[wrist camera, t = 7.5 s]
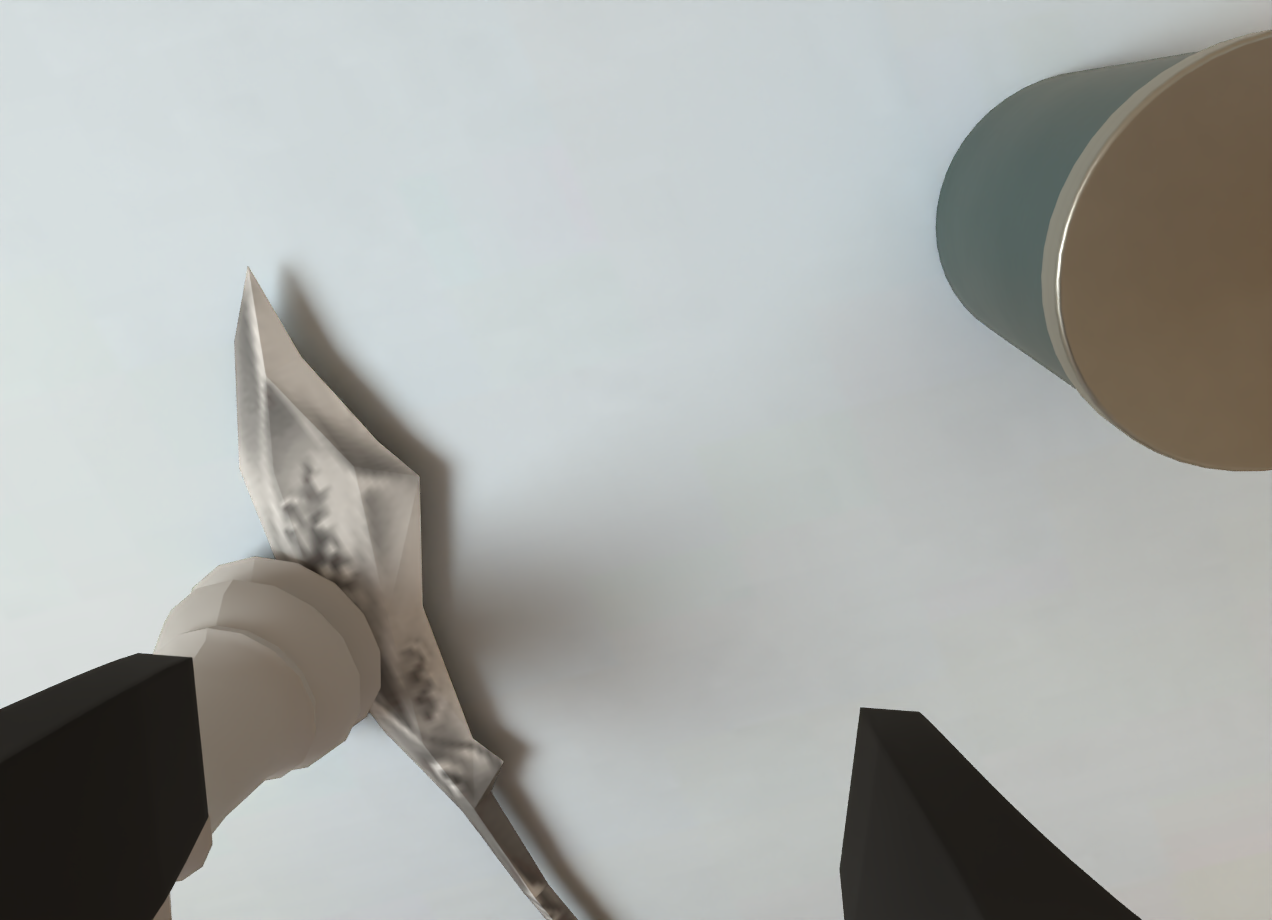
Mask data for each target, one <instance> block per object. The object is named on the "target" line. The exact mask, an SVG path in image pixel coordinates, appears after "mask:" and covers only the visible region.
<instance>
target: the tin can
mask: <svg viewBox="0 0 1272 920" xmlns="http://www.w3.org/2000/svg"><path fill="white" fill-rule="evenodd" d="M936 237H937V247H938V252H939V257H940V261H941V264H942V267H943V270H944V273H945V276H946V278H947V280H948V282H949V284H950V286H951V288H952V290H953V291H954V293H955V295H956V296H957V297H958V299H959V300H960V301H961V303H962V304H963V306H964V307H965V308H966V309H967V310H968V311H969V312H970V313H971V314H972V315H973V316H974V317H975V318H976V319H978V320H979V321H980V322H981V323H983V324H984V325H985V326H987V327H988V328H989V329H991V330H992V331H994V332H995V333H996V334H998V335H999V336H1001V337H1002V338H1004V339H1005V340H1006V341H1008V342H1009V343H1011V344H1012V345H1014V346H1015V347H1016V348H1018V349H1019V350H1021V351H1022V352H1024V353H1025V354H1026V355H1028V356H1029V357H1031V358H1032V359H1034V360H1035V361H1036V362H1038V363H1039V364H1041V365H1042V366H1044V367H1045V368H1046V369H1048V370H1049V371H1051V372H1052V373H1054V374H1055V375H1057V376H1058V377H1059V378H1061V379H1062V380H1064V381H1065V382H1067V383H1068V384H1069V385H1071V386H1072V387H1074V388H1075V389H1077V391H1078V392H1079V393H1080V395H1081V396H1082V397H1083V398H1084V399H1085V400H1086V401H1087V402H1088V403H1089V404H1090V405H1091V407H1092V408H1093V409H1094V410H1095V411H1096V412H1097V413H1098V414H1099V415H1101V416H1102V417H1103V418H1105V419H1106V420H1107V421H1109V422H1110V423H1111V424H1112V425H1114V426H1115V427H1116V428H1118V429H1119V430H1120V431H1122V432H1123V433H1125V434H1126V435H1127V436H1129V437H1130V438H1131V439H1133V440H1135V441H1136V442H1138V443H1140V444H1142V445H1144V446H1145V447H1147V448H1149V449H1151V450H1152V451H1154V452H1156V453H1159V454H1161V455H1164V456H1167V457H1169V458H1172V459H1174V460H1177V461H1179V462H1183V463H1187V464H1191V465H1195V466H1199V467H1203V468H1209V469H1218V470H1227V471H1266V470H1272V30H1267V31H1261V32H1256V33H1250V34H1247V35H1244V36H1240V37H1237V38H1234V39H1231V40H1227V41H1224V42H1221V43H1218V44H1216V45H1213V46H1211V47H1209V48H1207V49H1204V50H1202V51H1199V52H1193V53H1187V54H1181V55H1175V56H1169V57H1163V58H1157V59H1151V60H1145V61H1139V62H1133V63H1127V64H1121V65H1115V66H1109V67H1103V68H1097V69H1091V70H1085V71H1079V72H1073V73H1068V74H1062V75H1057V76H1054V77H1051V78H1048V79H1044V80H1041V81H1039V82H1037V83H1034V84H1032V85H1030V86H1028V87H1025V88H1023V89H1021V90H1020V91H1018V92H1016V93H1015V94H1013V95H1012V96H1010V97H1008V98H1007V99H1005V100H1004V101H1003V102H1001V103H1000V104H999V105H997V106H996V107H995V108H994V109H992V110H991V111H990V112H989V113H988V114H987V115H986V116H985V117H984V118H983V119H982V120H981V121H980V122H979V123H978V124H977V125H976V126H975V127H974V129H973V130H972V131H971V132H970V134H969V135H968V136H967V137H966V139H965V140H964V141H963V143H962V145H961V146H960V148H959V149H958V151H957V153H956V154H955V156H954V158H953V160H952V162H951V164H950V166H949V169H948V171H947V173H946V176H945V179H944V182H943V185H942V188H941V191H940V196H939V201H938V206H937V216H936Z"/></svg>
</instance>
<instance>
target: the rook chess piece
mask: <svg viewBox="0 0 1272 920" xmlns="http://www.w3.org/2000/svg"><path fill="white" fill-rule="evenodd" d="M153 654H156V655H169V656H182V657H192V658H193V668H194V678H195V687H196V697H197V707H198V717H199V727H200V736H201V746H202V756H203V766H204V776H205V785H206V795H207V805H208V815H209V817H208V819H207V821H206V823H205V825H204V827H203V829H202V831H201V833H200V835H199V837H198V839H197V841H196V843H195V845H194V847H193V849H192V851H191V853H190V855H189V857H188V859H187V861H186V863H185V865H184V867H183V869H182V871H181V873H180V875H179V876H178V878H177V880H176V881H182V880H184V879H185V878H187V877H188V876H190V875H191V874H192V873H194V872H195V871H197V870H198V869H200V868H201V867H202V866H203V864H204V862H205V860H206V858H207V855H208V853H209V851H210V849H211V846H212V833H213V832H214V831H215V830H216V828H217V827H218V826H219V825H220V823H221V822H222V821H223V819H224V818H225V817H226V816H227V815H228V814H229V813H230V812H231V811H232V810H234V809H235V808H236V807H237V806H238V805H239V804H240V803H241V802H242V801H243V800H244V799H245V798H246V797H247V796H249V795H250V794H251V793H252V792H253V791H254V790H255V789H256V788H257V787H258V786H259V785H260V784H261V783H262V782H264V781H265V780H270V779H276V778H281V777H283V776H284V775H285V774H287V773H288V772H290V771H291V770H295V769H301V768H306V767H308V766H310V765H311V764H313V763H314V762H316V761H317V760H319V759H320V758H321V757H323V756H324V755H326V754H327V753H329V752H330V751H331V750H333V749H334V748H336V747H337V746H338V745H340V744H341V743H343V742H344V741H345V740H346V739H347V737H348V735H349V733H350V731H351V729H352V727H353V726H354V725H356V724H357V723H358V722H360V721H361V720H363V719H364V718H365V717H366V716H367V714H368V712H369V710H370V708H371V706H372V704H373V702H374V700H375V698H376V696H377V694H378V692H379V690H380V688H381V668H380V650H379V647H378V645H377V643H376V640H375V638H374V636H373V634H372V631H371V629H370V627H369V624H368V622H367V620H366V618H365V615H364V613H363V612H362V611H361V610H360V609H359V608H358V607H357V606H356V605H355V604H354V602H353V601H352V600H351V599H350V598H349V597H348V596H347V595H346V594H345V593H344V592H343V591H342V590H341V589H340V588H339V587H338V586H337V585H336V584H335V583H334V582H332V581H330V580H328V579H326V578H324V577H323V576H321V575H319V574H317V573H315V572H313V571H311V570H309V569H308V568H306V567H304V566H302V565H300V564H298V563H295V562H288V561H282V560H275V559H269V558H262V557H256V556H255V557H251V558H247V559H243V560H238V561H234V562H230V563H226V564H222V565H219V566H217V567H216V568H215V569H214V570H213V571H212V572H210V573H209V574H208V575H207V576H206V577H205V578H203V579H202V580H201V581H200V582H199V583H198V584H196V585H195V586H194V587H193V588H192V591H191V594H189V595H188V596H187V597H186V598H185V599H184V600H182V601H181V602H180V603H179V604H178V605H176V606H175V607H174V608H173V609H172V610H171V611H170V613H169V615H168V617H167V618H166V620H165V622H164V624H163V627H162V630H161V632H160V635H159V638H158V641H157V643H156V646H155V649H154V651H153ZM153 920H172V918H171V900H170V893H169V895H168V897H167V899H166V900H165V902H164V903H163V905H162V906H161V908H160V909H159V911H158V912H157V914H156V915H155V917H154V918H153Z"/></svg>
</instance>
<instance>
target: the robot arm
mask: <svg viewBox="0 0 1272 920" xmlns="http://www.w3.org/2000/svg"><path fill="white" fill-rule="evenodd" d="M208 817H209V815H208V805H207V795H206V785H205V776H204V766H203V756H202V746H201V736H200V727H199V717H198V707H197V697H196V687H195V678H194V668H193V658H192V657H182V656H169V655H156V654H142V653H137V654H134V655H131V656H128V657H125V658H122V659H119V660H116V661H113V662H110V663H108V664H105V665H102V666H100V667H97V668H95V669H92V670H90V671H87V672H85V673H83V674H80V675H78V676H75V677H73V678H71V679H68V680H66V681H64V682H61V683H59V684H57V685H54V686H52V687H50V688H47V689H45V690H43V691H41V692H38V693H36V694H34V695H31V696H29V697H27V698H25V699H22V700H20V701H18V702H15V703H13V704H11V705H9V706H6V707H4V708H2V709H0V920H153V918H154V917H155V915H156V914H157V912H158V911H159V909H160V908H161V906H162V905H163V903H164V902H165V900H166V899H167V897H168V895H169V893H170V891H171V889H172V887H173V886H174V884H175V882H176V880H177V878H178V876H179V875H180V873H181V871H182V869H183V867H184V865H185V863H186V861H187V859H188V857H189V855H190V853H191V851H192V849H193V847H194V845H195V843H196V841H197V839H198V837H199V835H200V833H201V831H202V829H203V827H204V825H205V823H206V821H207V819H208ZM840 878H841V889H842V899H843V909H844V920H1142V919H1140V918H1139V917H1138V916H1136V915H1135V914H1134V913H1133V912H1131V911H1130V910H1129V909H1128V908H1126V907H1125V906H1124V905H1123V904H1122V903H1120V902H1119V901H1118V900H1117V899H1116V898H1114V897H1113V896H1112V895H1111V894H1110V893H1109V892H1107V891H1106V890H1105V889H1104V888H1103V887H1102V886H1100V885H1099V884H1098V883H1097V882H1096V881H1095V880H1093V879H1092V878H1091V877H1090V876H1089V875H1088V874H1086V873H1085V872H1084V871H1083V870H1082V869H1081V868H1079V867H1078V866H1077V865H1076V864H1075V863H1074V862H1073V861H1071V860H1070V859H1069V858H1068V857H1067V856H1066V855H1065V854H1064V853H1062V852H1061V851H1060V850H1059V849H1058V848H1057V847H1056V846H1055V845H1054V844H1053V843H1052V842H1050V841H1049V840H1048V839H1047V838H1046V837H1045V836H1044V835H1043V834H1042V833H1041V832H1040V831H1039V830H1037V829H1036V828H1035V827H1034V826H1033V825H1032V824H1031V823H1030V822H1029V821H1028V820H1027V819H1026V818H1025V817H1024V816H1023V815H1022V814H1021V813H1020V812H1019V811H1018V810H1017V809H1016V808H1014V807H1013V806H1012V805H1011V804H1010V803H1009V802H1008V801H1007V800H1006V799H1005V798H1004V797H1003V796H1002V795H1001V794H1000V793H999V792H998V791H997V790H996V789H995V788H994V787H993V786H992V785H991V784H990V783H989V782H988V781H987V780H986V779H985V778H984V777H983V776H982V775H981V774H980V773H979V772H978V771H977V770H976V769H975V768H974V767H973V765H972V764H971V763H970V762H969V761H968V760H967V759H966V758H965V757H964V756H963V755H962V754H961V753H960V752H959V751H958V750H957V749H956V748H955V747H954V746H953V745H952V744H951V743H950V742H949V741H948V740H947V739H946V738H945V737H944V736H943V735H942V734H941V733H940V732H939V731H938V730H937V728H936V727H935V726H934V725H933V724H932V723H931V722H930V721H929V720H927V719H926V718H925V717H924V716H923V715H922V714H921V713H920V712H914V711H901V710H888V709H874V708H861V707H860V715H859V723H858V730H857V738H856V746H855V754H854V762H853V769H852V777H851V785H850V793H849V800H848V808H847V816H846V824H845V832H844V839H843V847H842V855H841V863H840Z"/></svg>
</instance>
